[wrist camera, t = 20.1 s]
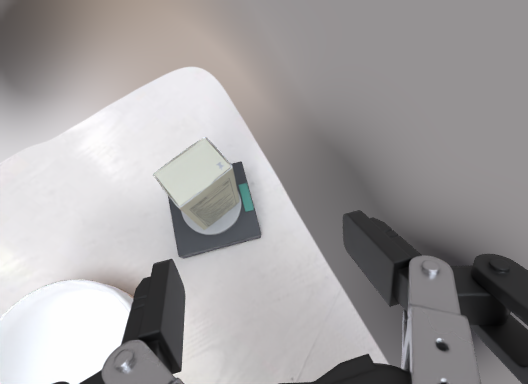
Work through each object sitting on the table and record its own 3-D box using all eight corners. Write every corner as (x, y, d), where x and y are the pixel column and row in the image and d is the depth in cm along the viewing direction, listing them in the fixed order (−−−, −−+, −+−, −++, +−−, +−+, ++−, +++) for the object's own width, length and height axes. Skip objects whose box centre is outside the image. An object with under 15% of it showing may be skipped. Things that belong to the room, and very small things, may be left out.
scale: (242, 168, 42) (241, 158, 38) (260, 237, 38) (261, 233, 35) (170, 185, 40) (163, 176, 37) (183, 258, 37) (177, 256, 34)
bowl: (184, 386, 32) (165, 418, 25) (44, 456, 30) (-27, 516, 22) (147, 260, 37) (121, 254, 29) (22, 311, 34) (-43, 319, 26)
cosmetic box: (220, 178, 37) (207, 132, 26) (240, 202, 36) (236, 164, 25) (182, 208, 36) (149, 172, 24) (202, 232, 35) (178, 208, 23)
